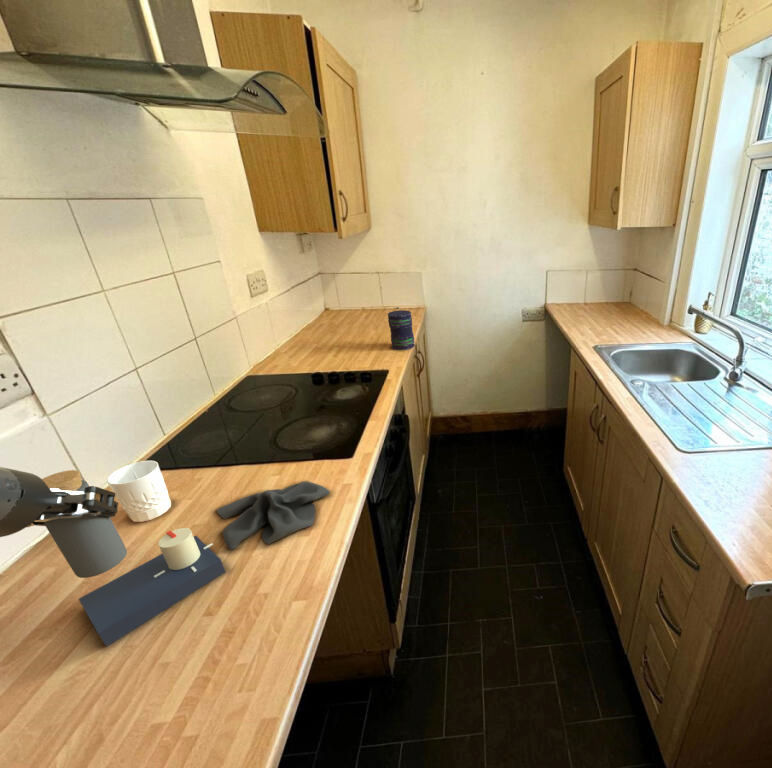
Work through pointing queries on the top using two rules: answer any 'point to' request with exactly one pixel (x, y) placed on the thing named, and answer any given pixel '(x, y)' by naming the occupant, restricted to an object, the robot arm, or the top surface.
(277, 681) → the top surface
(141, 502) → the white cup
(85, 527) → the bottle
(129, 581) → the panel
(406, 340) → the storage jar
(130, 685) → the top surface
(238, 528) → the cloth
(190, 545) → the knob
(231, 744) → the top surface
